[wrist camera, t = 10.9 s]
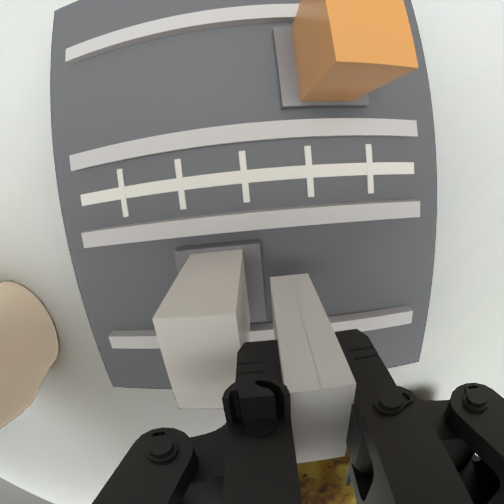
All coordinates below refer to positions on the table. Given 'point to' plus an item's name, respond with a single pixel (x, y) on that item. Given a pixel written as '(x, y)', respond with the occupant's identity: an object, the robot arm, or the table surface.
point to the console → (233, 173)
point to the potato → (326, 481)
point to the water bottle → (23, 348)
